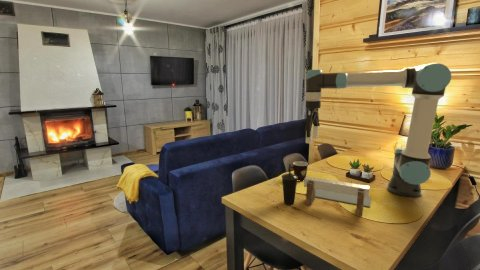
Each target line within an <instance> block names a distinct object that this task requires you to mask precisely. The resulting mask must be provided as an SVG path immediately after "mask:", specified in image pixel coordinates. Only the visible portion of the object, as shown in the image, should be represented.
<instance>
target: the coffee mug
mask: <svg viewBox="0 0 480 270" xmlns="http://www.w3.org/2000/svg"><path fill="white" fill-rule="evenodd" d="M308 165H309V164H308V162H307V161H301V160H299V161H298V160H297V161H293V163H292V166H291V169H293V173H291V172H290V173H291V174H294V175H297V176H298V179H297V180H300V181H299V182H304V181H303V180H304V179H305V177H306V176H307V172H308ZM288 172H289V169H288Z"/></svg>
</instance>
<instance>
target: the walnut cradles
mask: <svg viewBox="0 0 480 270" xmlns="http://www.w3.org/2000/svg"><path fill="white" fill-rule="evenodd" d="M305 196H306V197H305V204H306V206H313V203H314V201H316V197H315V189H314V188H313V183H311V182H307V187H306V192H305ZM363 204H364V191H359V190H358V196H357V205H356V208H355V209H356V210H355V212H356V213H355V215H356V216H359V217H363V212H364V206H363Z"/></svg>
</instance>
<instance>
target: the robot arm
mask: <svg viewBox="0 0 480 270" xmlns="http://www.w3.org/2000/svg"><path fill="white" fill-rule="evenodd" d="M451 80H452V72H451V70H450V67H447V65H445V64H442V63H439V62H430V63H429V62H428V63H427V64H421V65H418V66H413V67H404V68H403V69H401V70H400V69H399V70H398V69H396V70H382V71H381V70H379V71H361V72H336V73H335V72H331V73H330V72H329V73H323V70H322V69H309V70H307V72H306V78H305V94H304V96H305V100H306V101H305V108H306V109H308V110H307V111H306V119H305V124H304V129H303V131H304V132H305V144H309V145H310V144H312V139H318V138H319V127H320V125H321V124H320V118H319V115H320V114H319V109H321V106H322V105H321V104H322V101H321V100H322V89H323V90H324V89H335V90H337V89H339V90H340V89H346V88H369V87H371V88H372V87H373V88H374V87H375V88H376V87H377V88H378V87H402V88H404V89H406V88H407V89H412V92H411V96H413V98H414V101H413V107H412V112H411V119H410V122H409V123H410V124H409V128H408V133H407V138H406V145H405V147H397V148H396V149H395V150H394V159H393V168H392V174H391V175H392V176H391V177H390V178H389V180H388V183H387V190H388V191H389V192H391V193H393V194H395V195H398V196H401V197H410V198H412V197H413V198H414V197H415V198H416V197H420V196H421V195H422V188H421V185H422V184H424V183H426V182H427V181H428V180H429V179H430V178H431V168H430V164H431V158H432V156H431V155H430V154H429V147H430V142H431V138H432V133H433V127H434V123H435V119H436V115H437V109H438V103H439V100H440V99H442V98H443V97H444V96H445V92H446V89H447V86H448V85H449V84H450V83H451Z"/></svg>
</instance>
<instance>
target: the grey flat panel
mask: <svg viewBox="0 0 480 270" xmlns="http://www.w3.org/2000/svg"><path fill="white" fill-rule="evenodd" d="M315 198H318V199H322V200H327V201H335V202H338V203H343V202H345V204H348V203H350V205H354V204H355V205H354V206H357V196H354V195H348V194H342V193H337V192H331V191H325V190H319V189H315ZM371 199H372V196H370V195H369V196H368V198H365V197H364V204H363V207H364V206H366V207H365V208H371V203H372V202H371V201H372V200H371Z"/></svg>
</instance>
